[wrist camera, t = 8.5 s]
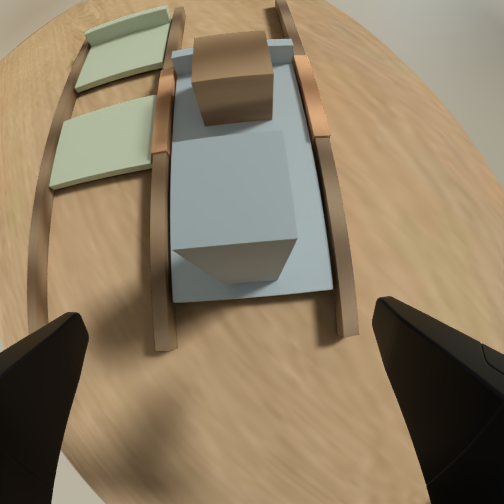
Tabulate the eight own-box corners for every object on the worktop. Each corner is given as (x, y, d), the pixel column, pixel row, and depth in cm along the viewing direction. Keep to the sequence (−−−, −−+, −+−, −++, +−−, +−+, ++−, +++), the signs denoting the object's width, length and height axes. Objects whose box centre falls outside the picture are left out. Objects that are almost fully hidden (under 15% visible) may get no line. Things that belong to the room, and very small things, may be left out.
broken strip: (154, 167, 21) (139, 148, 18) (54, 189, 21) (34, 176, 18) (172, 23, 24) (166, 4, 21) (95, 46, 25) (86, 30, 22)
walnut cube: (272, 120, 20) (273, 73, 15) (204, 126, 20) (191, 82, 15) (265, 75, 21) (264, 30, 16) (205, 81, 21) (194, 38, 16)
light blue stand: (330, 289, 18) (421, 261, 7) (176, 302, 19) (67, 290, 7) (289, 62, 22) (297, -45, 11) (179, 73, 22) (145, -28, 11)
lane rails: (353, 332, 18) (361, 334, 16) (41, 341, 19) (28, 343, 17) (284, 6, 25) (284, -5, 23) (92, 42, 25) (87, 33, 24)
